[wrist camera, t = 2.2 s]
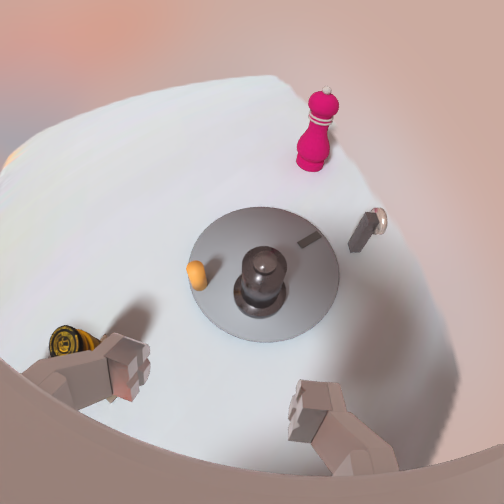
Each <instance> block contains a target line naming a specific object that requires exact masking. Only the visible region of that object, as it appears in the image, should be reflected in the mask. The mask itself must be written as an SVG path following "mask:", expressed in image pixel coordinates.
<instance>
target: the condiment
mask: <svg viewBox="0 0 504 504" xmlns="http://www.w3.org/2000/svg"><path fill="white" fill-rule="evenodd" d="M106 338H107V336H106V335H104V336H103V337H102V338H101V339H100V340H98V339H97V338H95V337H93V336H91V335H90V334H88V333H87V332H85V331H83V330H79V329H75V328H73V327H71V326H68V325H64V326H61V327H59V328H57V329H56V330H55V331H54V332H53V334H52V336H51V338H50V342H49V351H50V355H51V357H57V356H62V355H68V354H73V353H77V352H82V351H87V350H90V351H93V350H94V349H95V348H96V347H97V346H99V345H100V344H101V343H102V342H103V341H104V340H105V339H106ZM116 397H117V396H115V395H113V394H112V396H110V397H108V398H106V399H107V400H108V401H109V402H110V403H112V401H113V400H114V399H115V398H116Z"/></svg>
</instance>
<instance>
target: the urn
mask: <svg viewBox="0 0 504 504" xmlns="http://www.w3.org/2000/svg"><path fill="white" fill-rule="evenodd" d="M286 272H287V262H286V259H285V257H284V256H283V255H282V253H281V252H279V251H278V250H276V249H275V248H272V247H269V246H259V247H255V248H253V249H251V250H249V251H248V252H247V253H246V254H245V256H244V258H243V260H242V274H241V275H240V276H239V277H238V278H237V280H236V282H235V284H234V289H233V295H234V301H235V304H236V306H237V308H238V309H239V310H240V311H241V312H242V313H243V314H245V315H246V316H248V317H251V318H254V319H265V318H269V317H271V316H273V315H275V314H276V313H277V312H278V311H279V310H280V309H281V308H282V306H283V304H284V301H285V298H286V286H285V283H284V278H285V275H286Z"/></svg>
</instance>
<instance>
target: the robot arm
mask: <svg viewBox="0 0 504 504" xmlns="http://www.w3.org/2000/svg"><path fill="white" fill-rule="evenodd" d="M149 355H150V346H149V345H148V344H145V343H143V342H140V341H137V340H134V339H132V338H129V337H125V336H123V335H121V334H118V333H112V334H111V335H110V336H109V337H107V338H106V339H105V340H104V341H103V342H102V343H101V344H100V345H99V346H97V347H96V348H95V349H94V350H93V351H90V350H87V351H82V352H77V353H73V354H68V355H62V356H57V357H52V358H46V359H41V360H38V361H37V362H36V363H34V364H33V365H32V366H31V367H29V368H28V369H27V370H26V371H24V372H23V373H22V374H20V373H19V372H17V371H16V370H15V369H14V368H12V367H11V366H10V365H9V364H7V363H6V362H5V361H4V360H3V359H1V358H0V504H504V444H499V445H496V446H493V447H491V448H488V449H486V450H483V451H480V452H477V453H475V454H471V455H468V456H465V457H462V458H458V459H455V460H451V461H447V462H444V463H440V464H435V465H431V466H426V467H421V468H416V469H410V470H404V471H400V469H399V466H398V463H397V460H396V457H395V453H394V450H393V447H391V446H390V445H389V444H388V443H387V442H385V441H384V440H383V439H382V438H380V437H379V436H378V435H377V434H376V433H374V432H373V431H372V430H371V429H370V428H369V427H367V426H366V425H365V424H364V423H363V422H361V421H360V420H359V419H358V418H357V417H356V416H355V415H353V414H352V413H351V412H347V409H346V405H345V401H344V398H343V394H342V390H341V386H340V384H339V383H332V382H317V381H309V380H301V379H299V381H298V383H297V385H296V394H295V395H293V396H292V399H291V402H290V406H289V412H288V419H289V420H290V424H289V426H288V441H295V442H304V443H311V445H312V447H313V448H314V450H315V451H316V452H317V454H318V455H319V456H320V458H321V459H322V460H323V462H324V463H325V465H326V466H327V467H328V469H329V470H330V471H331V473H332V474H333V475H332V476H303V475H288V474H277V473H268V472H261V471H254V470H247V469H241V468H236V467H230V466H225V465H221V464H216V463H212V462H208V461H204V460H200V459H196V458H192V457H189V456H185V455H182V454H178V453H175V452H172V451H169V450H166V449H163V448H160V447H157V446H154V445H151V444H149V443H146V442H143V441H141V440H138V439H136V438H133V437H131V436H128V435H126V434H124V433H121V432H119V431H117V430H115V429H112V428H110V427H108V426H106V425H104V424H102V423H100V422H98V421H96V420H94V419H92V418H90V417H88V416H86V415H84V414H82V413H80V412H79V411H78V410H80V409H83V408H85V407H87V406H90V405H92V404H94V403H97V402H99V401H101V400H103V399H106V398H108V397H110V396H112V394H113V395H115V396H118V397H120V398H123V399H125V400H128V401H131V402H132V401H133V400H134V399H135V397H136V396H137V394H138V393H139V386H141V385H144V384H145V383H146V381H147V379H148V376H149V374H150V362H149V360H148V359H147V357H148V356H149Z"/></svg>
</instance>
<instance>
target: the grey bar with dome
mask: <svg viewBox="0 0 504 504" xmlns="http://www.w3.org/2000/svg"><path fill="white" fill-rule="evenodd" d="M386 228H387V215H386V213H385V211H384V209H382V208H373V209H372V210H371V212H365V214H364V216H363V217H362V219H361V221H360V223H359V225H358V226H357V228H356V230H355V232H354V233H353V235H352V237H351V239H350V240H349V242H348V246H349V249H350V253H352V252H361V250H362V249H363V247H364V246H365V244H366V243H367V241H368V240H369V238H370V237H371V235H372V234H375V235H382V234H383V233H384V232H385V231H386Z"/></svg>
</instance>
